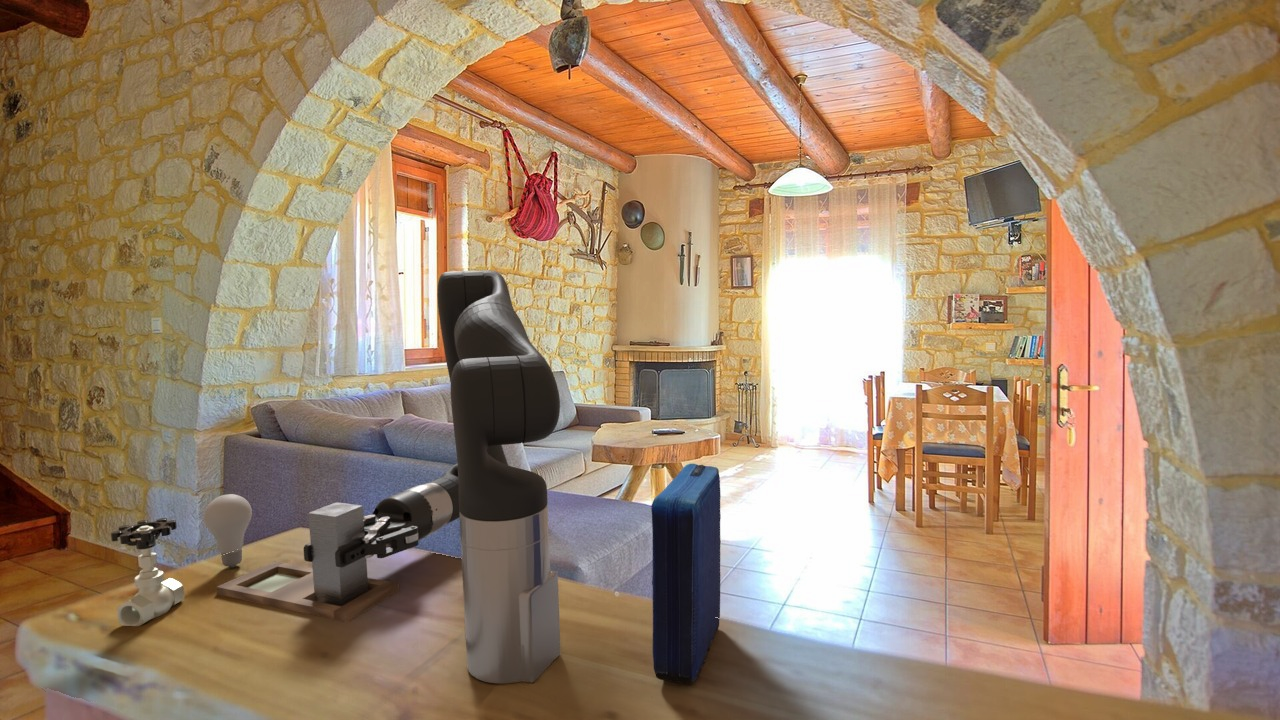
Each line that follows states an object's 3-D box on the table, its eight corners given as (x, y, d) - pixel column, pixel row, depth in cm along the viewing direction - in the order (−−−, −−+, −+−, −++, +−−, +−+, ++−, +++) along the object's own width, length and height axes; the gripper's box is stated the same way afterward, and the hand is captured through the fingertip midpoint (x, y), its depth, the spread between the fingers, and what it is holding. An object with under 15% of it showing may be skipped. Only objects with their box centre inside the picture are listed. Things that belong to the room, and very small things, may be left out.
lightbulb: (264, 563, 103) (258, 492, 102) (222, 578, 98) (215, 503, 96) (242, 555, 106) (236, 486, 105) (200, 570, 101) (193, 497, 100)
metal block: (368, 594, 90) (362, 505, 88) (342, 609, 86) (335, 516, 84) (342, 589, 91) (336, 502, 90) (315, 603, 87) (308, 512, 86)
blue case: (683, 620, 83) (680, 458, 81) (726, 626, 81) (725, 461, 79) (648, 687, 69) (644, 494, 67) (700, 695, 67) (697, 498, 65)
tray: (399, 596, 91) (398, 583, 91) (347, 627, 83) (346, 613, 82) (275, 573, 99) (274, 561, 99) (217, 599, 91) (216, 586, 91)
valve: (197, 607, 89) (188, 518, 88) (156, 632, 82) (147, 536, 81) (150, 606, 90) (141, 517, 88) (106, 631, 83) (96, 535, 82)
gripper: (374, 485, 103) (277, 521, 88) (452, 494, 98) (364, 534, 82) (377, 533, 104) (281, 578, 88) (455, 544, 99) (368, 594, 83)
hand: (322, 556), depth 85 cm, fingers open, 4 cm apart
